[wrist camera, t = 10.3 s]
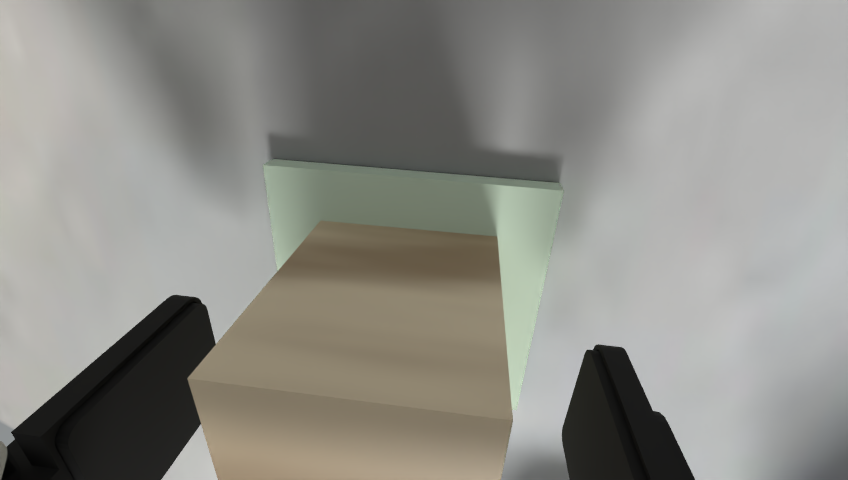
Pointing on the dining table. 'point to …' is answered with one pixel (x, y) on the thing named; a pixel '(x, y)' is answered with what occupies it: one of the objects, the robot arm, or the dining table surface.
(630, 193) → the dining table surface
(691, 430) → the dining table surface
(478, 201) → the felt pad
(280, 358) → the beech block
